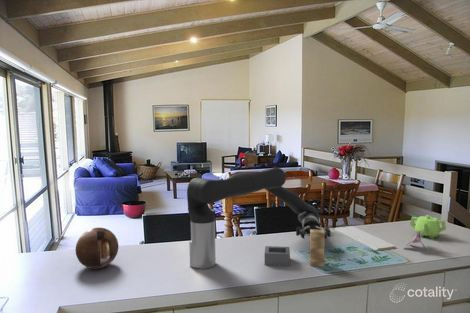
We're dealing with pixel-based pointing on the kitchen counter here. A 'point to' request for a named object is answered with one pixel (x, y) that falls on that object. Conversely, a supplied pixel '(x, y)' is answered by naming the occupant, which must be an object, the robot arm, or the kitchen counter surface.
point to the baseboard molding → (364, 238)
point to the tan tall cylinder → (317, 247)
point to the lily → (417, 239)
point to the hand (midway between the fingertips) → (314, 236)
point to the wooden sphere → (96, 248)
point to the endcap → (277, 256)
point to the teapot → (428, 226)
